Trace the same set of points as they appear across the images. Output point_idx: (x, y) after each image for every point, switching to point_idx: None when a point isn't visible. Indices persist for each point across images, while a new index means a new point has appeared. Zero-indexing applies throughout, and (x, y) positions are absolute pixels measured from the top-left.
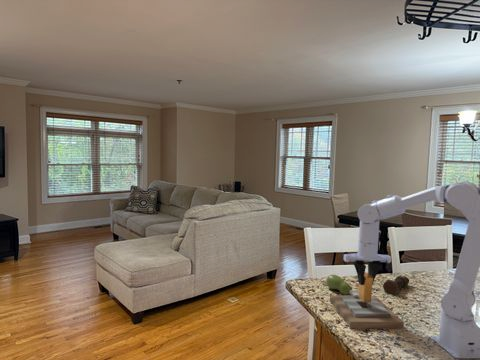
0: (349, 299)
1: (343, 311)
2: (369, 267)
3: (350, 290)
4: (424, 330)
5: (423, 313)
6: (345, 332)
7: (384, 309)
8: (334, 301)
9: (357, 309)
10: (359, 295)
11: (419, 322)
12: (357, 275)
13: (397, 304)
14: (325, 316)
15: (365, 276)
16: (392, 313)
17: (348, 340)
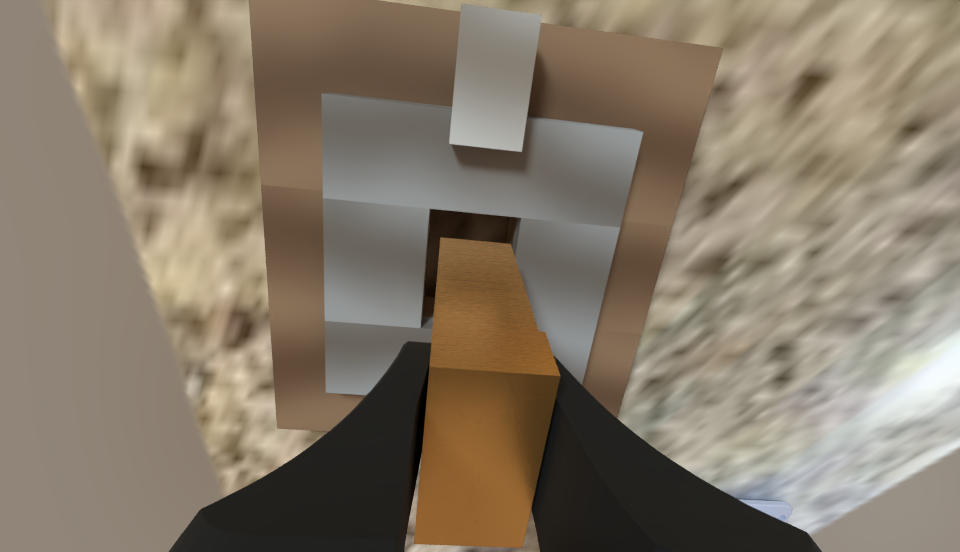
0: (383, 175)
1: (275, 311)
2: (584, 533)
3: (462, 23)
4: (695, 438)
5: (884, 277)
6: (248, 432)
7: (577, 356)
8: (259, 127)
9: (370, 345)
10: (437, 271)
11: (746, 370)
12: (377, 384)
13: (839, 128)
14: (166, 263)
15: (436, 512)
16: (620, 357)
17: (240, 488)
